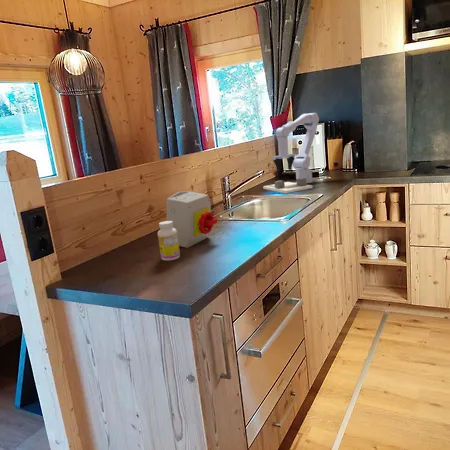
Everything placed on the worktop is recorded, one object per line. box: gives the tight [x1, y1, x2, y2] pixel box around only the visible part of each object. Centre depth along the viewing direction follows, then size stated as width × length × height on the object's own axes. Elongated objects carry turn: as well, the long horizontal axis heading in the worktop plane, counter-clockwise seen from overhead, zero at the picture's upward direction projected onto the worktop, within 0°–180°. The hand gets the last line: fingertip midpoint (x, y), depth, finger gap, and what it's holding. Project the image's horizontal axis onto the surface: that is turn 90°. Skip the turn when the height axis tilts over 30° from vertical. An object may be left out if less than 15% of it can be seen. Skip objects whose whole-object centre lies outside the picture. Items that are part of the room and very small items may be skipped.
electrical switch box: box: [165, 190, 218, 249], centre depth 163 cm, size 15×15×20 cm
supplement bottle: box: [157, 220, 181, 262], centre depth 148 cm, size 7×7×13 cm
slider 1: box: [274, 179, 285, 188], centre depth 255 cm, size 4×4×4 cm
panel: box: [262, 181, 313, 194], centre depth 260 cm, size 18×26×2 cm
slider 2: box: [295, 178, 308, 186], centre depth 255 cm, size 4×4×4 cm
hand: (284, 170), depth 261 cm, fingers open, 7 cm apart
